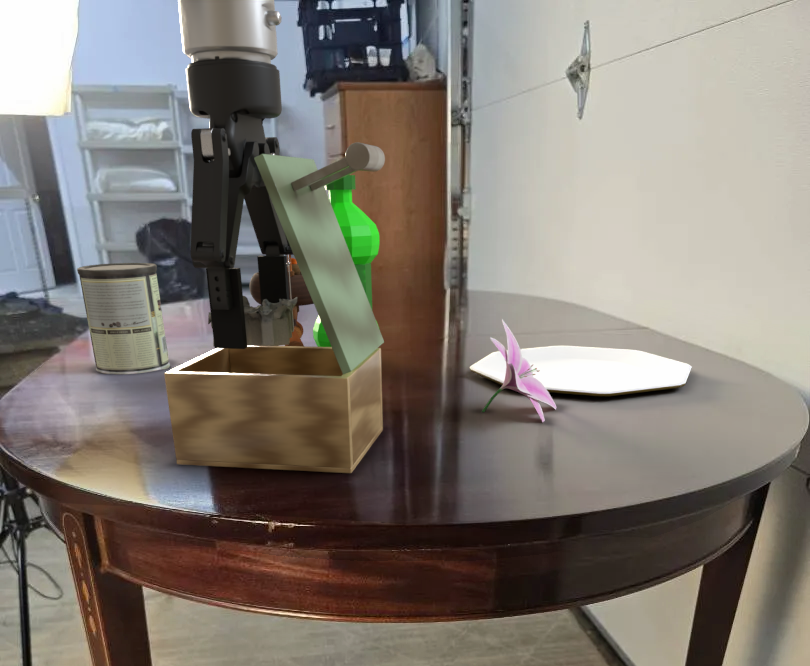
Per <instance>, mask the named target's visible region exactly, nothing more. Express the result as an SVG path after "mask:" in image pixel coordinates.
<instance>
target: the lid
mask: <svg viewBox="0 0 810 666" xmlns="http://www.w3.org/2000/svg"><path fill="white" fill-rule="evenodd" d="M344 155H345V156H344V157H343V158H340V159H338V160H336V161H334V162H332V163H330V164H328V165H325V166H323V167H321V168H319V169H318V168H317V164H316V162H315V159H313V158H305V157H296V156H285V155H280V156H278V155H269V154H261V155H259V156H257V157H255V158H254V159H255V162H256V164H257V167H258V169H259V171H260V174H261V176H262V179H263V181H264V184H265V186H266V188H267V191H268V193H269V196H270V198H271V201H272V203H273V205H274V208H275V210H276V213H277V215H278V218H279V220H280V223H281V225H282V227H283V230H284V232H285V235H286V237H287V240H288V242H289V244H290V247H291V249H292V252H293V254H294V255H293V258H294V259H296V261H297V264H298V266H299V269H300V271H301V274H302V276H303V278H304V281H305V283H306V286H307V288H308V291H309V293H310V295H311V298H312V300H313V303H314V304H313V306H314V307H315V310H316V313H317V314H318V315H319V317H320V320H321V322H322V325H323V327H324V329H325V332H326V334H327V337H328V339H329V342H330V344H331V347H332V349H333V351H334V354H335V356H336V359H337V361H338V364H339V366H340V368H341V371H342V373H343V374H346V373H348V372H351V371H352V370H353V369H354V368H356V367H357V366H358V365H359V364H360V363H361V362H362V361H363V360H365V359H366V358H367V357H368V356H369V355H370V354H371V353H372V352H374V351H375V350H376V349H377V348H380V347H381V346H382V345H383V344H384V343H385V341H384V338H383V335H382V332H381V330H380V326H379V324H378V321H377V319H376V317H375V315H374V312H373V308H372V309H371V306H370V304H369V301H368V299H367V296H366V293H365V291H364V288H363V286H362V283H361V281H360V278H359V275H358V273H357V270H356V268H355V265H354V262H353V260H352V257H351V255H350V252H349V250H348V247H347V244H346V242H345V239H344V237H343V234H342V231H341V229H340V226H339V224H338V221H337V219H336V216H335V213H334V211H333V208H332V206H331V203H330V200H329V194H328V193H327V190H325V188H324V186H326V185H328V184H330V183H332V182H334V181H336V180H339V179H341V178H343V177H345V176H347V175H353V174H354V173H356V172H358V171H360V172H371V173H372V172H373V173H375V172H378V171H381V170H382V168H383V167H384V165H385V162H386V155H385V153H384V151H383V149H382V148H381V147H379V146H377V145H372V144H367V143H363V142H358V141H357V142H353V143H351V144H350V145H348V146H347V148H346V151H345V154H344ZM318 315H317V316H318ZM376 321H377V322H376ZM378 326H379V327H378Z"/></svg>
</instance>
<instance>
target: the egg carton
mask: <svg viewBox="0 0 810 666" xmlns="http://www.w3.org/2000/svg"><path fill="white" fill-rule="evenodd" d="M243 303H244V314H245V326H246V337H247V346H256V345H257V346H285V345H289V342H290V340H289V338H292V332H294V320H293V308H294V306H295V305H296V303H297V297H296V298H294V299H292V300H287V299H282V300H281V299H279V302H278V303H270V302H269V301H268V300H267V299H264V300H263V302H262V304H263V307H262V306H261V305H260V304H259V305H257V306H252V305H251V303H250V301H249V299H248V297H247V296H246V295H243ZM207 315H208V317H207V325H210V327H211V328H212V320H211V311H210V312H208V314H207ZM212 346H213V347H214V339H212Z"/></svg>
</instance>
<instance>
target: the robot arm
mask: <svg viewBox="0 0 810 666" xmlns="http://www.w3.org/2000/svg"><path fill="white" fill-rule="evenodd" d="M177 2H178V3H177V4H178V14H179V25H180V34H181V44H182V46H181V47H182V52H183V54H184V55H185V56H187V58H189V59H191V62H189V64H187V67H186V68H185V75H186V77H185V78H186V87H187V95H188V104H189V110H190V112H191V114H192V115H193V116H195V117H196V118H201V119H209V127H208V128H207V127H205V128H204V127H203V128H192V129H191V134H190V135H191V136H190V137H191V146H192V155H193V157H192V158H193V171H192V173H193V174H192V175H193V176H192V197H191V199H192V200H191V225H190V226H191V227H190V229H191V230H190V258H191V262H192V266H193V267H194V268H195V269H205V273H206V282H207V291H208V301H209V309H210V312H211V320H212V327H211V330H212V335H213V336H212V338H213V339H214V346H213V347H214V349H216V348H225V349H245V348H247V337H246V326H245V314H244V303H243V296H244V295H243V294H244V292H243V284H242V283H243V281H242V272H241V270H242V269H241V267H235V263H236V258H237V257H236V256H237V252H238V251H237V250H238V244H239V243H238V242H239V236H240V229H241V224H242V216H243V209H244V203H245V206H246V208H247V213H248V215H249V218H250V221H251V224H252V228H253V231H254V234H255V238H256V240H257V243H258V247H259V249H260V252H261V254H262V255H258V256H257V255H256V258H257V259H256V260H257V269H258V272H259V284H260V296H261V306H262V307H263V304H262V302H263V300H264V299H267V300H268V301H269V302H270V303H278V302H279V299H281V300H282V299H287V300H289V286H288V271H287V266H288V265H287V255H291V256H294V254H293V252H292V249H291V247H290V244H289V242H288V240H287V237H286V235H285V232H284V230H283V227H282V225H281V223H280V220H279V218H278V215H277V213H276V210H275V208H274V205H273V203H272V201H271V198H270V196H269V193H268V191H267V188H266V186H265V184H264V181H263V179H262V176H261V174H260V171H259V169H258V167H257V164H256V162H255V159H254V158H255V157H257V156H259V155H261V154H269V155H278V156H281V155H280V142H279V139H278V137H277V136H268V137H266V134H265V129H264V128H265V127H264V124H263V123H264V120H266V119H268V120H270V119H271V120H272V119H275V118H278V117H279V116H280V115H281V114H282V111H283V108H282V107H283V106H282V105H283V104H282V90H281V76H280V75H281V74H280V69H278V68H277V65H275V64H273V63H272V61H273V60H274V59H275V58H276V57H278V40H277V39H278V38H277V28H276V26H280V24H281V23H282V16H281V13H280V11H278V10H276V6H275V5H276V4H275V0H177ZM213 339H212V340H213Z"/></svg>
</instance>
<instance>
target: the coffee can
mask: <svg viewBox="0 0 810 666" xmlns="http://www.w3.org/2000/svg"><path fill="white" fill-rule="evenodd" d="M157 267H158V266H157V264H155V263H150V262H115V263H114V262H113V263H100V264H89V265H84V266H80V267H77V268H76V270H77V274H78V277H79V281H80V287H81V293H82V298H83V304H84V308H85V313H86V319H87V325H88V331H89V335H90V336H89V337H90V341H91V347H92V353H93V358H94V363H95V368H96V369H95V371H97V372H98V373H102V374H107V375H135V374H144V373H151V372H156V371H161V370H168V369H169V368H170V367H171V364H170V360H169V353H168V352H169V351H168V344H167V337H166V332H165V331H166V330H165V324H164V317H163V310H162V303H161V296H160V295H161V294H160V291H159V290H160V289H159V283H158V276H157V270H158V268H157Z"/></svg>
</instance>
